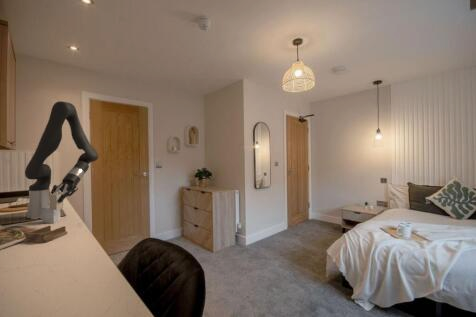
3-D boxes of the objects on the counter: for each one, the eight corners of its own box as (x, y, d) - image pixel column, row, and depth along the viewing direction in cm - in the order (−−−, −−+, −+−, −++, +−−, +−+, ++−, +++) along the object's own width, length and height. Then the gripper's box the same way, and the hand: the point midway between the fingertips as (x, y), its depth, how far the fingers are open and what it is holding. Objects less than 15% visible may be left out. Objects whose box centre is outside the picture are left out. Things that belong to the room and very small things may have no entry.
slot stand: (23, 241, 98) (23, 233, 97) (47, 233, 108) (47, 225, 108) (45, 242, 97) (45, 234, 97) (67, 233, 108) (67, 226, 107)
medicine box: (60, 221, 128) (60, 206, 128) (53, 223, 123) (53, 208, 123) (48, 220, 129) (48, 206, 128) (41, 222, 124) (41, 207, 124)
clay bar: (49, 209, 115) (49, 194, 115) (56, 207, 119) (56, 193, 119) (56, 209, 115) (56, 194, 115) (63, 208, 119) (63, 193, 119)
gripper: (58, 172, 126) (37, 197, 114) (81, 173, 124) (62, 198, 113) (66, 180, 131) (47, 204, 119) (88, 181, 130) (71, 206, 118)
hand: (55, 201), depth 116 cm, fingers closed on clay bar, 4 cm apart
